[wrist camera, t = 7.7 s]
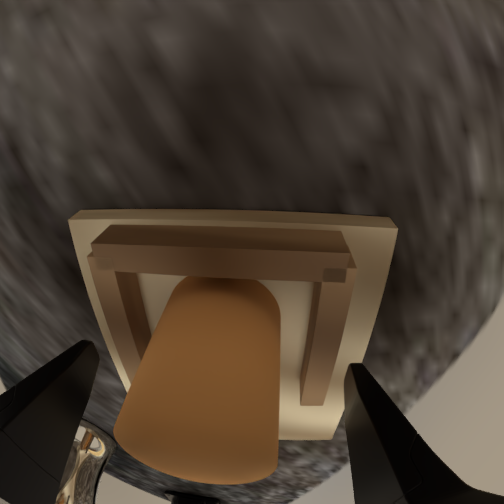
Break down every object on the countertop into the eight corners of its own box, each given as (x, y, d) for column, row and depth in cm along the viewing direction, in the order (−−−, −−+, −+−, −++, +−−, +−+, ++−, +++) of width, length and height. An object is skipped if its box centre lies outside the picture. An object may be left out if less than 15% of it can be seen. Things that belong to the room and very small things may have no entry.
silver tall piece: (128, 458, 24) (91, 583, 11) (69, 437, 24) (24, 548, 11) (111, 426, 20) (58, 579, 7) (44, 400, 20) (-18, 531, 7)
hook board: (330, 426, 17) (334, 496, 13) (146, 411, 18) (124, 475, 14) (389, 217, 11) (449, 302, 6) (80, 209, 11) (0, 275, 7)
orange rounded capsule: (277, 357, 13) (273, 488, 8) (177, 350, 13) (139, 470, 8) (283, 270, 11) (284, 427, 6) (160, 266, 11) (88, 399, 6)
